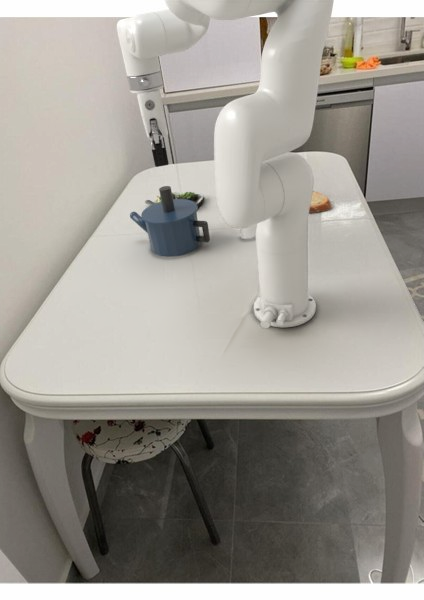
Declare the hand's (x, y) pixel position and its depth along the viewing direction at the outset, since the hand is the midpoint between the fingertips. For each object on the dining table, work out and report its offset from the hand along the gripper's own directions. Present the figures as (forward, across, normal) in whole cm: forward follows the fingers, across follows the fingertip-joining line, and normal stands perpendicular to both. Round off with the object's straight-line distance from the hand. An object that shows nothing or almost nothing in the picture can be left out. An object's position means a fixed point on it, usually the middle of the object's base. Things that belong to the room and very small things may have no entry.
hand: (161, 159), depth 106 cm
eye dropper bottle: (+24, -2, -20) cm, 31 cm away
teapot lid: (+14, +1, +1) cm, 14 cm away
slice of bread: (+24, +15, -38) cm, 47 cm away
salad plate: (+24, +28, -2) cm, 37 cm away
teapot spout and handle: (+22, +1, +2) cm, 22 cm away
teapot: (+24, +1, +1) cm, 24 cm away
